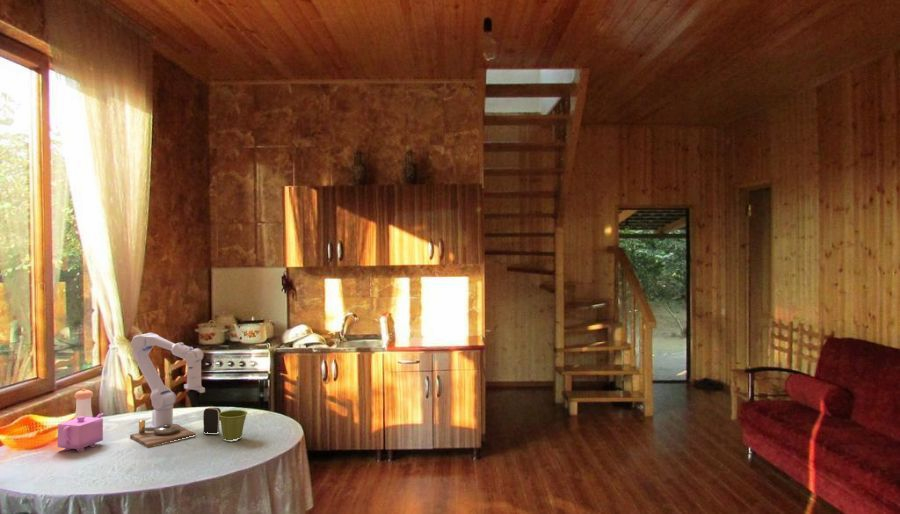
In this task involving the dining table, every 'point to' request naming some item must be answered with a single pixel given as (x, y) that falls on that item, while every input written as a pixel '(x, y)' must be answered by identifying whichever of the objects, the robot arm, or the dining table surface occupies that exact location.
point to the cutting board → (159, 437)
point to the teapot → (80, 432)
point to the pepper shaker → (83, 403)
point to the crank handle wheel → (159, 428)
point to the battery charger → (211, 420)
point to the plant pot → (232, 423)
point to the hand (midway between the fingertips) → (194, 406)
